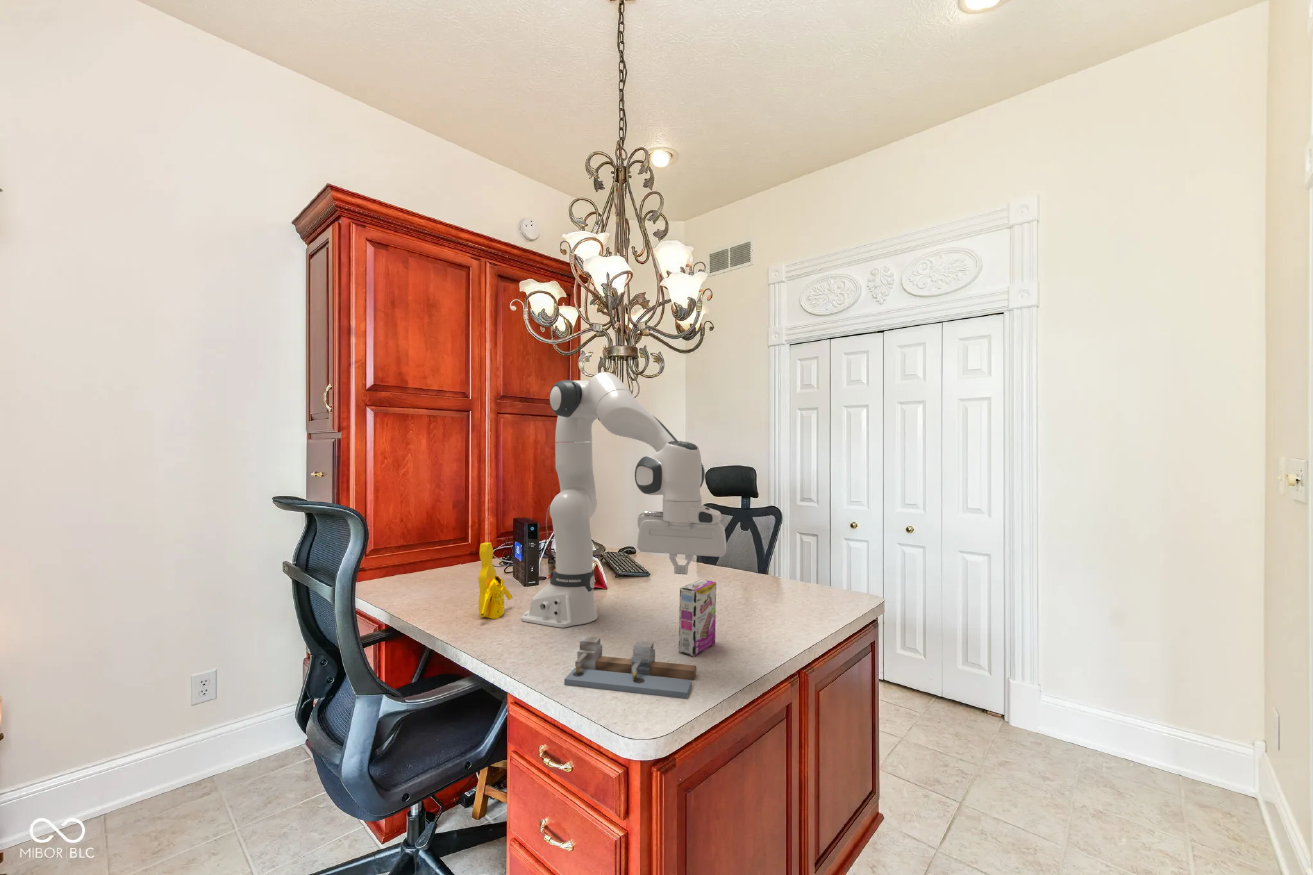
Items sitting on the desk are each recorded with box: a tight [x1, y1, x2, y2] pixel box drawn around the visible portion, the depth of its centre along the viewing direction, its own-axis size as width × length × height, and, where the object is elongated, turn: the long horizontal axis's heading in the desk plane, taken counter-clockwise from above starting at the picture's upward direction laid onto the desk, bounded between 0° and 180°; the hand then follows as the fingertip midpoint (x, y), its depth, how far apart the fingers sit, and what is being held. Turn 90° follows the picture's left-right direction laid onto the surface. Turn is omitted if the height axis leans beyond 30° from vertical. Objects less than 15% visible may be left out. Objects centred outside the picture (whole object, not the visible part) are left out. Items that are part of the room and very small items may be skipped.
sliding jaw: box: [630, 640, 656, 680], centre depth 120 cm, size 4×11×6 cm, turn 167°
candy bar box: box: [678, 579, 717, 657], centre depth 137 cm, size 11×5×16 cm, turn 146°
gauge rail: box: [574, 635, 697, 681], centre depth 121 cm, size 27×11×6 cm, turn 77°
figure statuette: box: [477, 542, 514, 620], centre depth 163 cm, size 18×8×22 cm, turn 167°
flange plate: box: [563, 667, 693, 700], centre depth 116 cm, size 27×6×1 cm, turn 77°
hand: (681, 573), depth 121 cm, fingers closed
